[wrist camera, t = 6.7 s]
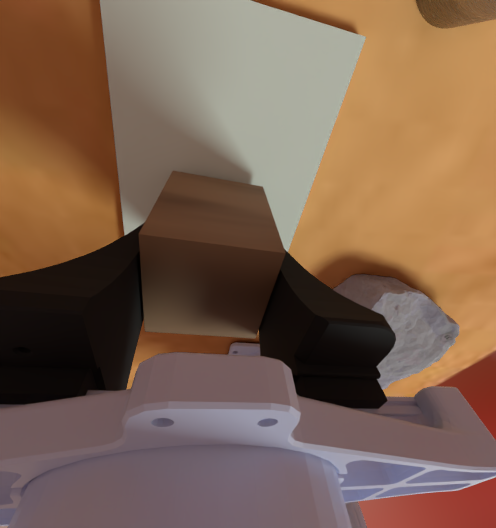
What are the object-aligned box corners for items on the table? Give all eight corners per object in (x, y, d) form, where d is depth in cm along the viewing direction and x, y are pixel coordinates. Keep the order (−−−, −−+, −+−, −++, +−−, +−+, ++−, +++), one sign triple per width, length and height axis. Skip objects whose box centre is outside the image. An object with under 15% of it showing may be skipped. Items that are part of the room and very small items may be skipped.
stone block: (345, 247, 19) (282, 339, 23) (387, 279, 15) (302, 386, 19) (434, 290, 24) (370, 361, 27) (485, 323, 20) (402, 403, 23)
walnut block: (245, 256, 15) (255, 338, 11) (170, 247, 15) (144, 331, 10) (262, 186, 13) (285, 253, 8) (172, 170, 12) (138, 234, 7)
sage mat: (260, 319, 21) (261, 324, 21) (134, 310, 19) (132, 315, 19) (360, 38, 10) (366, 36, 10) (100, -44, 9) (94, -50, 8)
